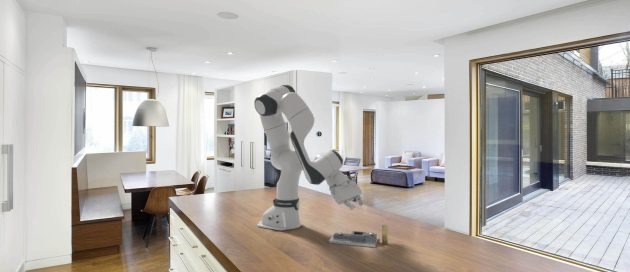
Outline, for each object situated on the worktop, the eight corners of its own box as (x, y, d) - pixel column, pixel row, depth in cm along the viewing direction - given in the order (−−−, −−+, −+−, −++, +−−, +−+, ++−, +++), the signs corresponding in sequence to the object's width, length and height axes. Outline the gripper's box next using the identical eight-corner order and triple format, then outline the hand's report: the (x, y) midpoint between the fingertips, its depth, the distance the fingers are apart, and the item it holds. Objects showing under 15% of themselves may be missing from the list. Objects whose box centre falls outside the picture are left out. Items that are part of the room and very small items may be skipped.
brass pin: (381, 244, 146) (381, 225, 145) (382, 242, 148) (382, 224, 148) (387, 244, 145) (387, 226, 145) (387, 243, 147) (387, 224, 147)
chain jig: (328, 242, 147) (328, 233, 147) (335, 234, 159) (335, 226, 159) (375, 247, 142) (375, 238, 142) (378, 238, 153) (378, 229, 153)
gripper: (332, 182, 147) (352, 207, 142) (353, 176, 164) (371, 198, 159) (323, 191, 149) (342, 216, 144) (344, 184, 167) (363, 206, 162)
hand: (358, 206), depth 152 cm, fingers open, 8 cm apart
